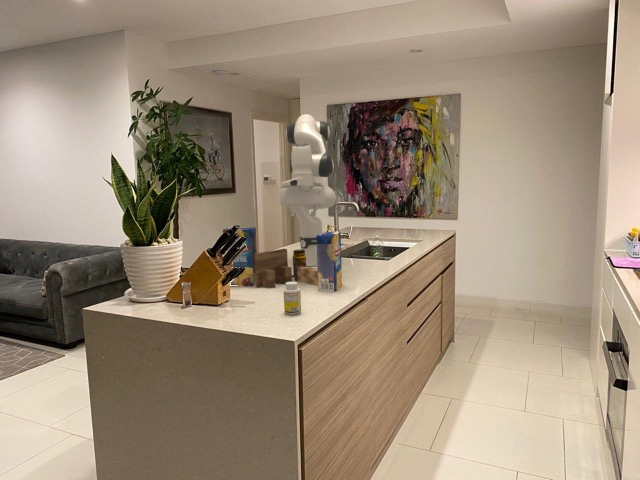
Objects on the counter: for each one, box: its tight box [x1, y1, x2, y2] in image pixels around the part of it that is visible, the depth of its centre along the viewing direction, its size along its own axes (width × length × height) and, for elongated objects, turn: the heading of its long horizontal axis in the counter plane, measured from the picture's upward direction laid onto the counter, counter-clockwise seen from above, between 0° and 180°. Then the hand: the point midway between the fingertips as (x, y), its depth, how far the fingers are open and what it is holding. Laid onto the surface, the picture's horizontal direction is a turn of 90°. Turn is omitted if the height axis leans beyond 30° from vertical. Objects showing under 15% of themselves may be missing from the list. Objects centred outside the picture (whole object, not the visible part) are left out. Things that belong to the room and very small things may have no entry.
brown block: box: [254, 248, 293, 289], centre depth 206 cm, size 7×16×14 cm, turn 133°
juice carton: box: [222, 226, 258, 288], centre depth 208 cm, size 12×8×24 cm, turn 80°
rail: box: [294, 265, 318, 286], centre depth 209 cm, size 16×4×6 cm, turn 43°
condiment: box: [292, 248, 307, 280], centre depth 222 cm, size 7×8×12 cm
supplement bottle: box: [283, 281, 302, 316], centre depth 163 cm, size 6×6×10 cm
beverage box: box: [316, 231, 343, 293], centre depth 196 cm, size 7×11×22 cm, turn 164°
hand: (303, 216), depth 204 cm, fingers open, 8 cm apart
